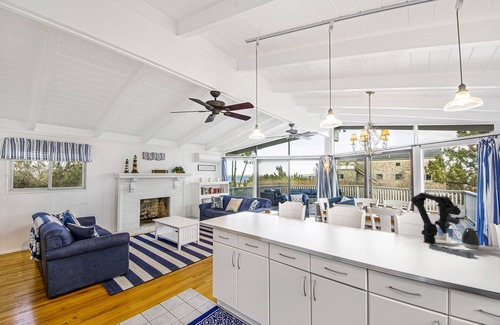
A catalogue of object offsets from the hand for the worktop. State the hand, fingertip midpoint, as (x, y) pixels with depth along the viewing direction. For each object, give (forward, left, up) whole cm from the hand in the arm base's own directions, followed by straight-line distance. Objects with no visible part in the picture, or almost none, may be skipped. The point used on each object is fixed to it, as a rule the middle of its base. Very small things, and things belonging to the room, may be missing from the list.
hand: (445, 233), depth 166 cm
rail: (+5, -8, -12) cm, 15 cm away
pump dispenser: (+9, +19, -12) cm, 24 cm away
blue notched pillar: (0, 0, -2) cm, 2 cm away
